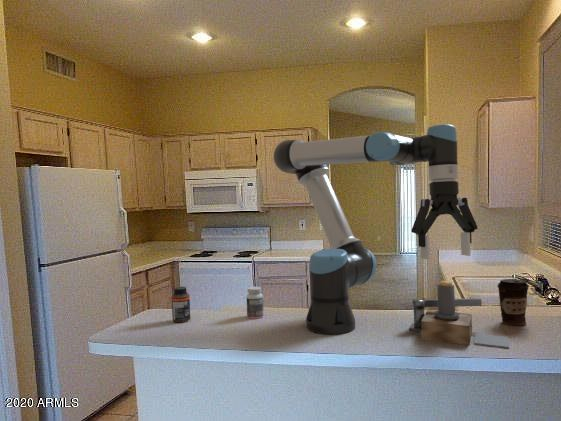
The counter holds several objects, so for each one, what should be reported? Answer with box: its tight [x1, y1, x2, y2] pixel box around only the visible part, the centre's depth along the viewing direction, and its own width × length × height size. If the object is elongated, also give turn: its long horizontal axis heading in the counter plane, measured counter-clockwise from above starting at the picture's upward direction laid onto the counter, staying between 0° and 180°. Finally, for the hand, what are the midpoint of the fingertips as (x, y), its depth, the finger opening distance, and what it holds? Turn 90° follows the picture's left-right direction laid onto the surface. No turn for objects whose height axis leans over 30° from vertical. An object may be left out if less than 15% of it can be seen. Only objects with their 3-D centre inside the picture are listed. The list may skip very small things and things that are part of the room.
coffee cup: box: [497, 278, 530, 326], centre depth 122 cm, size 9×8×13 cm
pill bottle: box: [246, 286, 265, 320], centre depth 138 cm, size 6×6×10 cm
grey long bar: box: [411, 297, 483, 309], centre depth 119 cm, size 20×4×2 cm, turn 87°
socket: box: [420, 309, 473, 346], centre depth 113 cm, size 12×12×5 cm
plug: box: [434, 280, 460, 321], centre depth 113 cm, size 6×6×15 cm
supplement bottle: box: [171, 286, 191, 323], centre depth 135 cm, size 6×6×11 cm
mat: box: [473, 333, 510, 349], centre depth 107 cm, size 8×8×1 cm
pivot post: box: [408, 307, 425, 332], centre depth 119 cm, size 5×5×6 cm
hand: (445, 257), depth 112 cm, fingers open, 13 cm apart
